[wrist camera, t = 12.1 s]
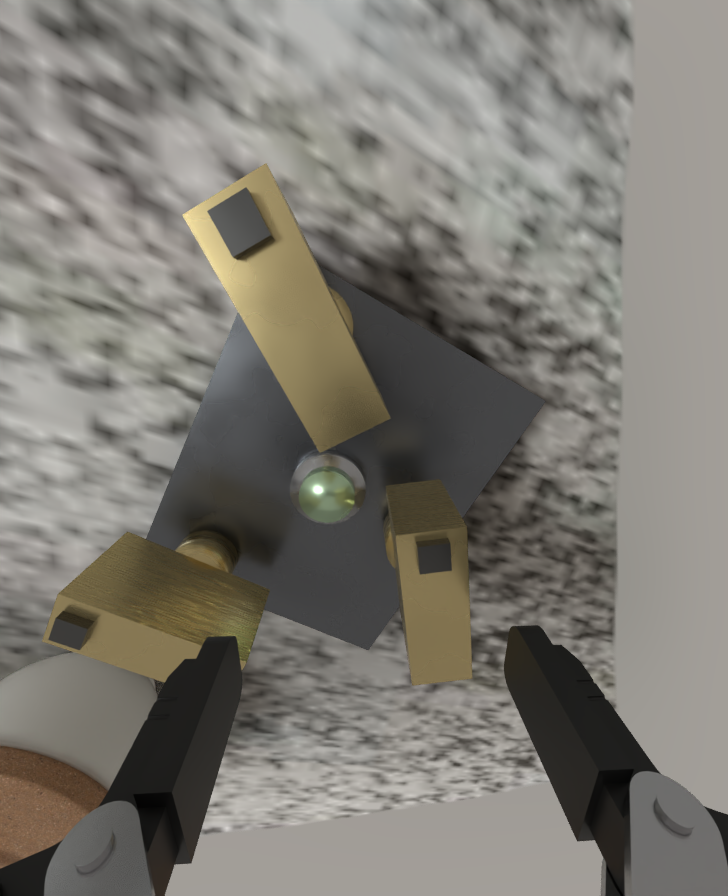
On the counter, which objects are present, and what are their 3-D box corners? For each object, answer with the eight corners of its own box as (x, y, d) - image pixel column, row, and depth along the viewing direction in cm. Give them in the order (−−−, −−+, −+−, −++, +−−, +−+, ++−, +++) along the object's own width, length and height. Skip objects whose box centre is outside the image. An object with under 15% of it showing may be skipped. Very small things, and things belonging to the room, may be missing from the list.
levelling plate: (367, 621, 21) (369, 671, 18) (159, 536, 19) (121, 577, 16) (524, 392, 17) (562, 407, 14) (280, 247, 15) (260, 225, 12)
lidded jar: (152, 757, 25) (41, 993, 16) (-4, 700, 23) (-231, 936, 14) (221, 662, 22) (133, 883, 13) (51, 587, 20) (-188, 792, 11)
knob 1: (281, 559, 17) (247, 664, 12) (258, 600, 18) (217, 715, 13) (153, 505, 16) (52, 593, 11) (135, 550, 17) (32, 655, 12)
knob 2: (384, 383, 15) (402, 416, 9) (325, 413, 15) (309, 461, 10) (308, 225, 13) (274, 149, 7) (242, 263, 13) (164, 217, 8)
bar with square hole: (444, 577, 18) (483, 685, 12) (389, 584, 18) (405, 694, 13) (437, 461, 16) (479, 530, 10) (375, 469, 16) (386, 542, 10)
